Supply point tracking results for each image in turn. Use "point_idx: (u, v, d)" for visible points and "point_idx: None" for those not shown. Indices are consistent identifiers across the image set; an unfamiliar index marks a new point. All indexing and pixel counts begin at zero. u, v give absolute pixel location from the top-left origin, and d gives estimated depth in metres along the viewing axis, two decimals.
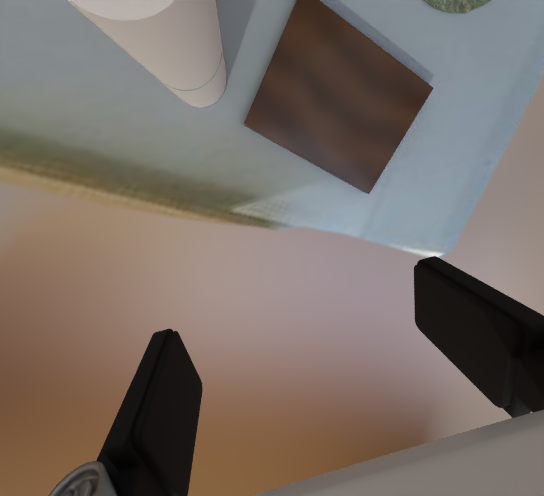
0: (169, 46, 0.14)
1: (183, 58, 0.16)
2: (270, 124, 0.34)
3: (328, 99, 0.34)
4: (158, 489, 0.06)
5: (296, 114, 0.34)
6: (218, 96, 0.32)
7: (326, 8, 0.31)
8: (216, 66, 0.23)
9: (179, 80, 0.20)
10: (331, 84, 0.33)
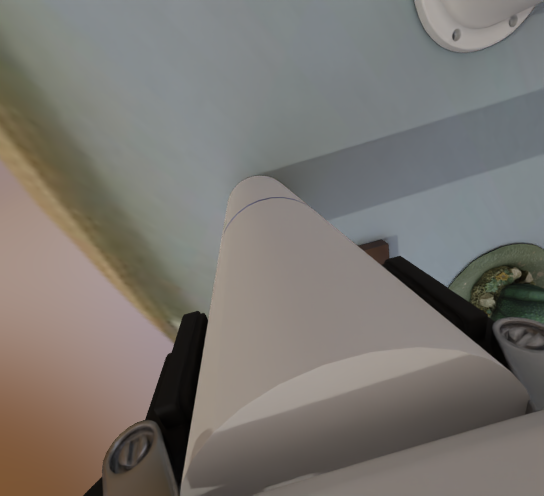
0: None
1: None
2: None
3: None
4: None
5: None
6: None
7: None
8: None
9: None
10: None
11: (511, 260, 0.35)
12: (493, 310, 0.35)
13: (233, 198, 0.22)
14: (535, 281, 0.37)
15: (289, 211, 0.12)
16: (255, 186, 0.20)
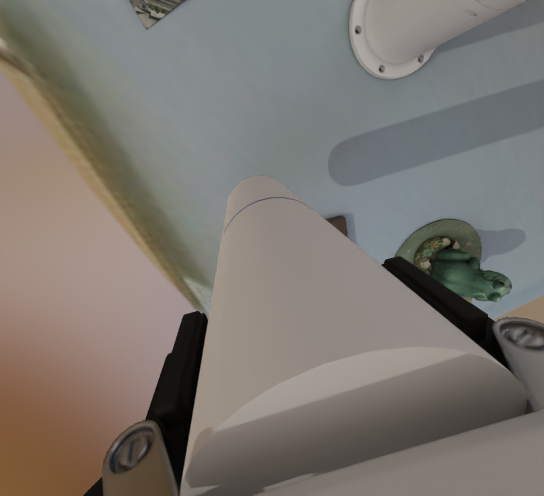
0: None
1: None
2: None
3: None
4: None
5: None
6: None
7: None
8: None
9: None
10: None
11: (444, 233, 0.46)
12: (431, 271, 0.46)
13: (233, 198, 0.22)
14: (465, 250, 0.48)
15: (289, 211, 0.12)
16: (255, 186, 0.20)
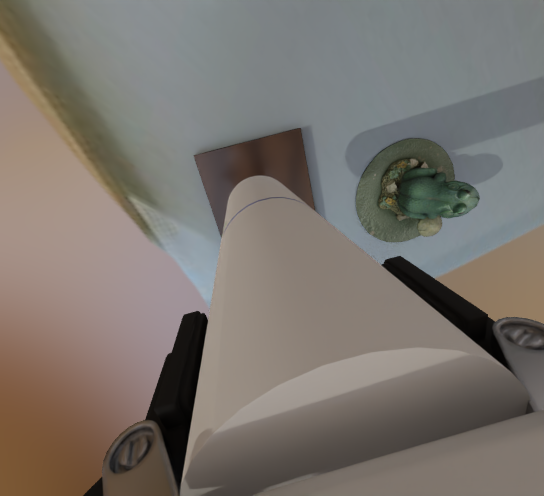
0: None
1: None
2: (211, 174, 0.38)
3: None
4: None
5: (233, 186, 0.39)
6: None
7: (303, 152, 0.39)
8: None
9: None
10: None
11: (412, 154, 0.42)
12: (398, 196, 0.43)
13: (233, 198, 0.22)
14: None
15: (289, 211, 0.12)
16: (255, 186, 0.20)
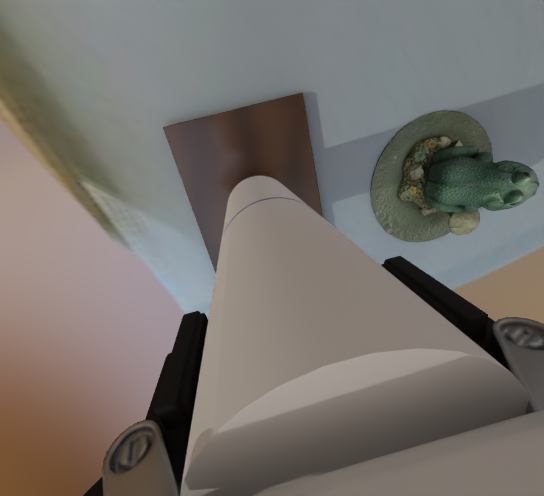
0: None
1: None
2: (186, 153, 0.30)
3: None
4: None
5: (216, 169, 0.31)
6: None
7: (306, 126, 0.30)
8: None
9: None
10: None
11: (443, 132, 0.34)
12: (424, 184, 0.34)
13: (233, 198, 0.22)
14: None
15: (289, 211, 0.12)
16: (255, 186, 0.20)
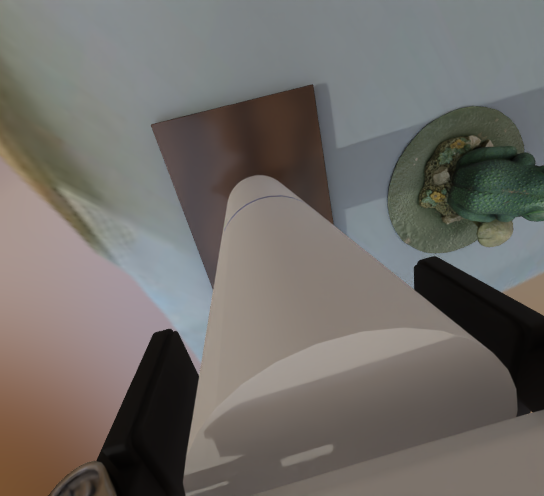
0: None
1: None
2: (178, 154, 0.26)
3: None
4: (158, 489, 0.06)
5: (213, 173, 0.27)
6: None
7: (317, 123, 0.26)
8: None
9: None
10: None
11: (470, 130, 0.30)
12: (449, 189, 0.30)
13: (233, 197, 0.22)
14: None
15: (288, 208, 0.12)
16: (255, 185, 0.21)
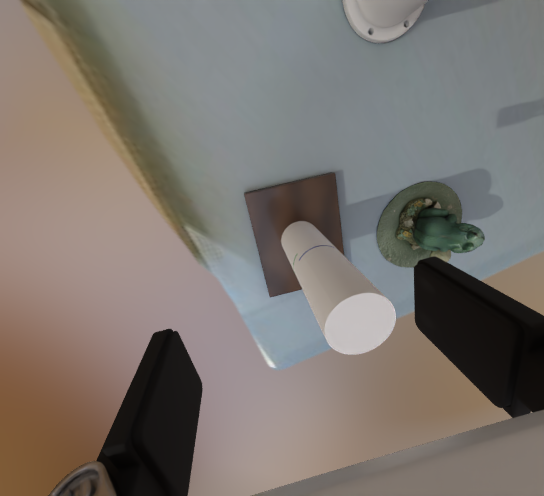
0: None
1: None
2: (257, 209, 0.45)
3: None
4: (159, 489, 0.06)
5: (275, 220, 0.46)
6: None
7: (336, 193, 0.46)
8: None
9: None
10: None
11: (427, 194, 0.49)
12: (414, 230, 0.49)
13: (292, 238, 0.41)
14: None
15: (333, 255, 0.32)
16: (306, 233, 0.40)
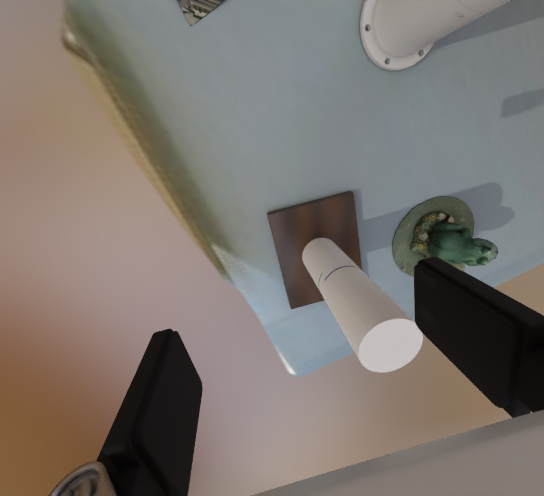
0: None
1: None
2: (279, 228, 0.47)
3: None
4: (159, 489, 0.06)
5: (296, 237, 0.48)
6: None
7: (354, 210, 0.48)
8: None
9: None
10: None
11: (440, 208, 0.51)
12: (428, 242, 0.52)
13: (315, 256, 0.44)
14: None
15: (359, 277, 0.34)
16: (328, 252, 0.42)
